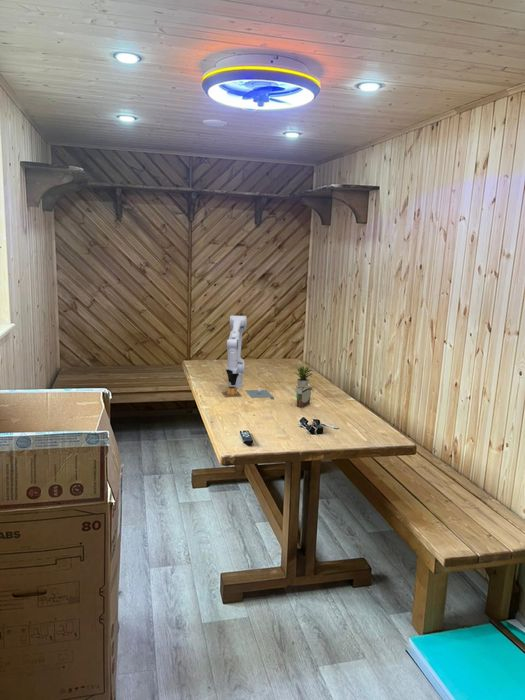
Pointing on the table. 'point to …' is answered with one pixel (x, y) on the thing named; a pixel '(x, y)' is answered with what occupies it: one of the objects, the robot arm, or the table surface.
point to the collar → (231, 391)
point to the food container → (303, 396)
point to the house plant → (303, 375)
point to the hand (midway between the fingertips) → (232, 383)
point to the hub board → (263, 392)
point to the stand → (231, 396)
